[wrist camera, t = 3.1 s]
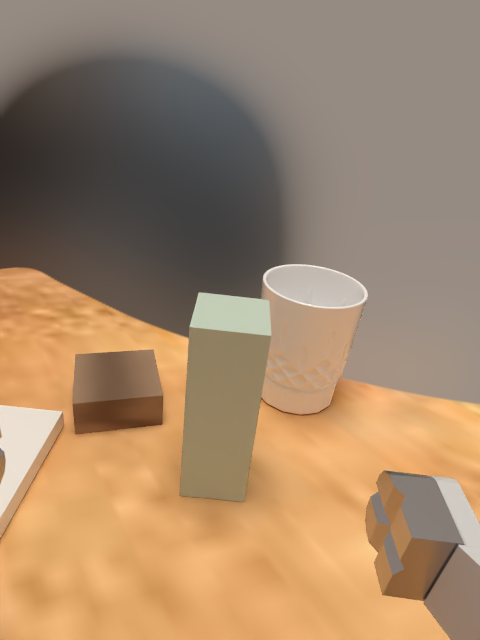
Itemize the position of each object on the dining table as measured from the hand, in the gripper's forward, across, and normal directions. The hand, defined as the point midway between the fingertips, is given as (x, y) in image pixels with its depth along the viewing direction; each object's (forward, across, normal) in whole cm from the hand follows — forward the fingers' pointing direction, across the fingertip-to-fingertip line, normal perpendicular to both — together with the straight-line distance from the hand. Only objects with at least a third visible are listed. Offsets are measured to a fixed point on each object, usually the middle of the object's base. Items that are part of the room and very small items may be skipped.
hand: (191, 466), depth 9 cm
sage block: (+14, -1, +15) cm, 21 cm away
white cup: (+24, -7, +15) cm, 29 cm away
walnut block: (+20, +7, +16) cm, 26 cm away
